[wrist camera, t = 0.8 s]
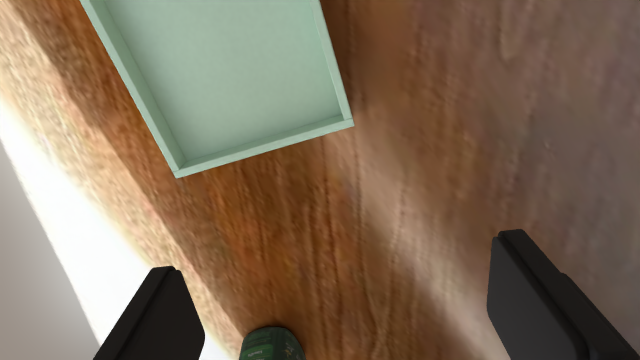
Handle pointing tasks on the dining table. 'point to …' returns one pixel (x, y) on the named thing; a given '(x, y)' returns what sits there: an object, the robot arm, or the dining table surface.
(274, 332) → the coffee jar
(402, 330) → the dining table surface
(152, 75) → the tray
